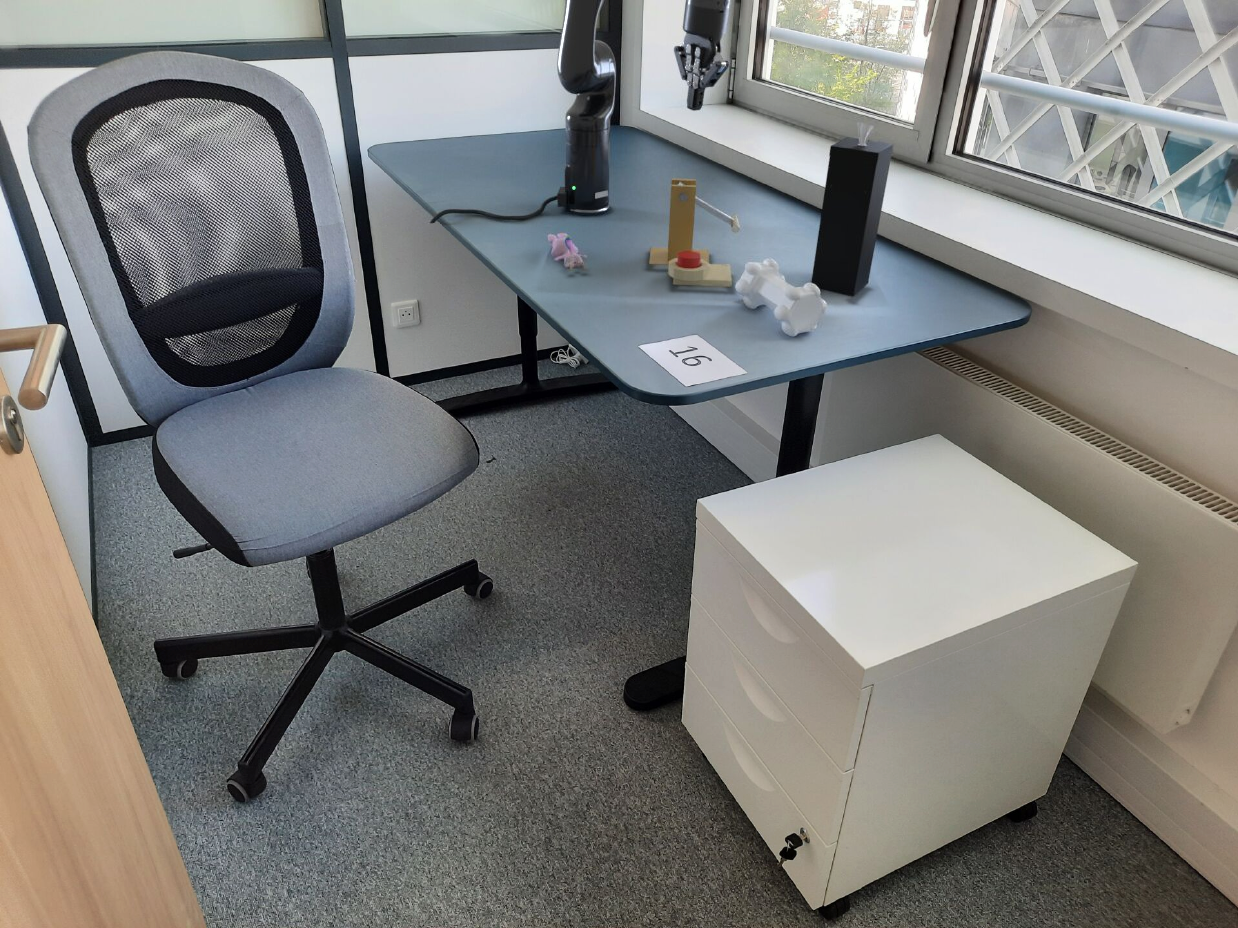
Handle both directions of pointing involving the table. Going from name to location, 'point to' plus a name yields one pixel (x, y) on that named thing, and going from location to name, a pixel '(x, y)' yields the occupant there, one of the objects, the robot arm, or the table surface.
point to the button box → (701, 274)
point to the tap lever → (718, 213)
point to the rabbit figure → (566, 250)
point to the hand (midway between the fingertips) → (694, 109)
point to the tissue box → (851, 212)
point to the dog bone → (781, 297)
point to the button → (689, 259)
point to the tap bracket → (679, 224)
